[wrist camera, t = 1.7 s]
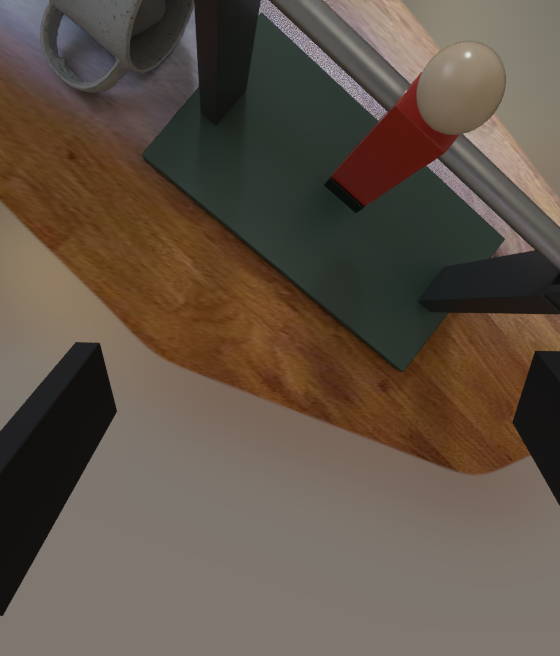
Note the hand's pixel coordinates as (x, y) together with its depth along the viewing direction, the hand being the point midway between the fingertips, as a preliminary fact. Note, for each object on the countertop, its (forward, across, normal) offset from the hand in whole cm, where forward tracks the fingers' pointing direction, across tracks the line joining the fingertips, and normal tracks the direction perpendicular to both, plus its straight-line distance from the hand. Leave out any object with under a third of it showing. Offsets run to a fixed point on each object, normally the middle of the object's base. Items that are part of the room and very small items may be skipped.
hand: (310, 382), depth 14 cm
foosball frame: (+25, +2, -1) cm, 25 cm away
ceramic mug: (+28, -14, +11) cm, 33 cm away
